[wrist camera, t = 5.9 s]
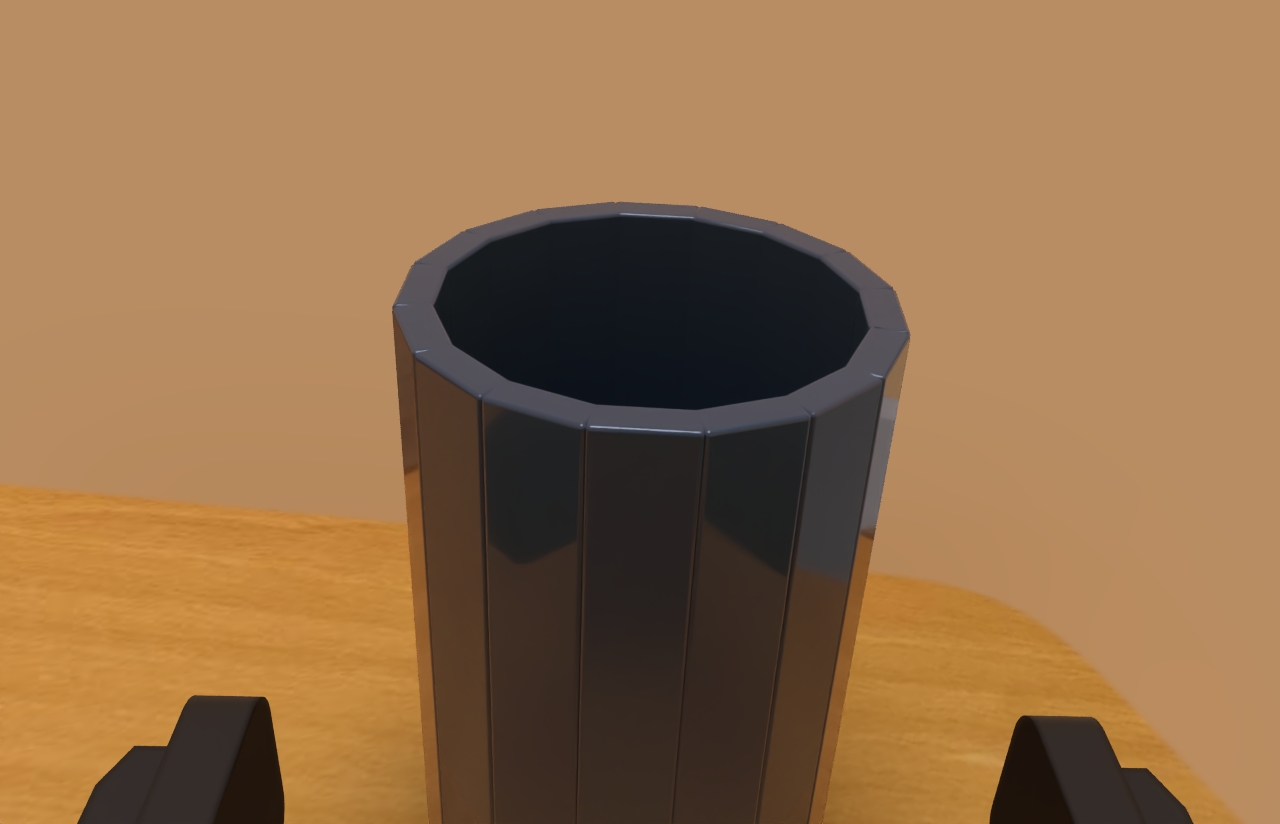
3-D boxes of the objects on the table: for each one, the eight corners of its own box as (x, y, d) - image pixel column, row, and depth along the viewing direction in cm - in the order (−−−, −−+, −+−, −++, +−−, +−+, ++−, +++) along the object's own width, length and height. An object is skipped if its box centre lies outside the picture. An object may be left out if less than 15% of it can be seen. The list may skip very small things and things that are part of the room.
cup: (854, 773, 21) (954, 257, 16) (731, 1086, 17) (820, 493, 11) (546, 661, 24) (548, 173, 18) (357, 912, 19) (286, 342, 13)
